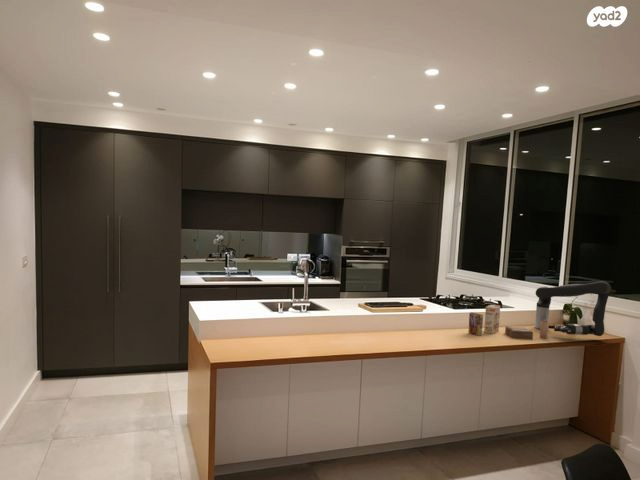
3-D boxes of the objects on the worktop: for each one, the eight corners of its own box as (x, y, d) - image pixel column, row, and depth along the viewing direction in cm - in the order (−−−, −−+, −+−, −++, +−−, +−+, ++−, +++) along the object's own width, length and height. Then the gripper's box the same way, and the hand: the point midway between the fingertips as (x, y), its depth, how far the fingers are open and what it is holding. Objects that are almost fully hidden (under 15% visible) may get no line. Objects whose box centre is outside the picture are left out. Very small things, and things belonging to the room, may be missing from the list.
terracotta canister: (538, 336, 328) (539, 319, 328) (545, 336, 328) (546, 319, 328) (541, 338, 323) (542, 320, 323) (548, 338, 323) (549, 321, 323)
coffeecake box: (493, 334, 328) (495, 308, 328) (483, 332, 332) (485, 306, 332) (499, 331, 340) (500, 305, 339) (489, 329, 344) (491, 304, 344)
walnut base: (505, 333, 333) (505, 326, 333) (523, 334, 333) (524, 327, 333) (512, 338, 319) (513, 330, 319) (532, 339, 319) (533, 331, 319)
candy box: (482, 335, 323) (483, 314, 323) (479, 335, 321) (480, 314, 320) (471, 332, 330) (472, 312, 330) (468, 333, 328) (469, 312, 327)
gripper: (568, 322, 332) (546, 321, 332) (579, 326, 318) (556, 325, 318) (568, 332, 333) (546, 331, 333) (578, 336, 318) (556, 335, 319)
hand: (551, 328), depth 326 cm, fingers open, 8 cm apart
